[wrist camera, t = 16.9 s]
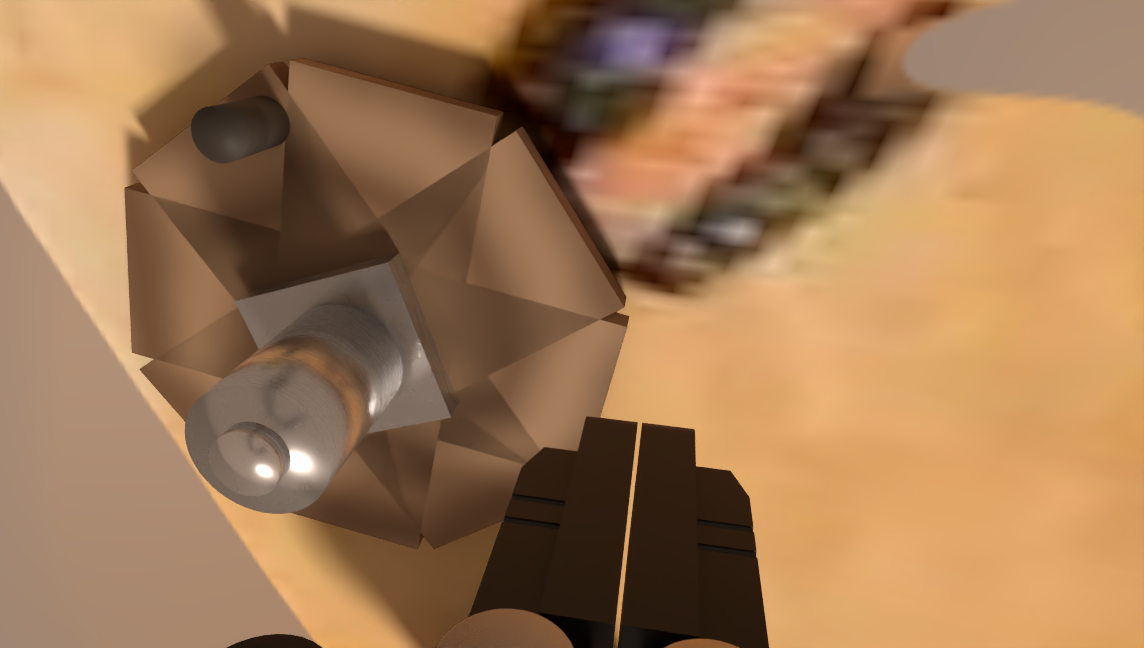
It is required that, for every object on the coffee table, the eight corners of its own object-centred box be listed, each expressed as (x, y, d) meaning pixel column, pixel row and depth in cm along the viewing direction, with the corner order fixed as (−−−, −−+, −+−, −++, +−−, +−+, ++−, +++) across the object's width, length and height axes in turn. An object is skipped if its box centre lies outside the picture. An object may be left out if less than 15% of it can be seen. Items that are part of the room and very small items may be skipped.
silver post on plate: (318, 430, 42) (204, 564, 32) (250, 290, 38) (99, 391, 28) (459, 403, 39) (383, 538, 29) (399, 252, 36) (291, 347, 26)
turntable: (152, 455, 46) (89, 508, 41) (137, 13, 34) (47, 15, 30) (552, 571, 45) (536, 639, 40) (676, 158, 34) (674, 184, 29)
